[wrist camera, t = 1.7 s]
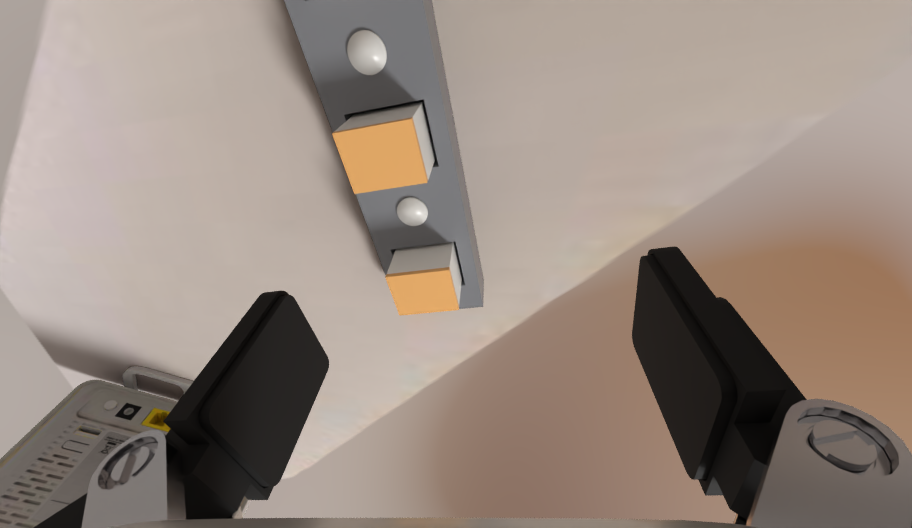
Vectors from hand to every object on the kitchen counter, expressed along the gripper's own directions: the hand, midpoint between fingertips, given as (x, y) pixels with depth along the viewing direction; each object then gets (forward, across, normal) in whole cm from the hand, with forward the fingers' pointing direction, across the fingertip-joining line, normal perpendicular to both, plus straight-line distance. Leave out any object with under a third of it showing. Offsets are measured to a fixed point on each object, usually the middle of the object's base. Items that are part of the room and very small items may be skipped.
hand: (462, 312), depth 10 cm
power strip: (+22, +6, 0) cm, 23 cm away
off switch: (+19, +6, +11) cm, 23 cm away
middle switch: (+19, +6, 0) cm, 20 cm away
